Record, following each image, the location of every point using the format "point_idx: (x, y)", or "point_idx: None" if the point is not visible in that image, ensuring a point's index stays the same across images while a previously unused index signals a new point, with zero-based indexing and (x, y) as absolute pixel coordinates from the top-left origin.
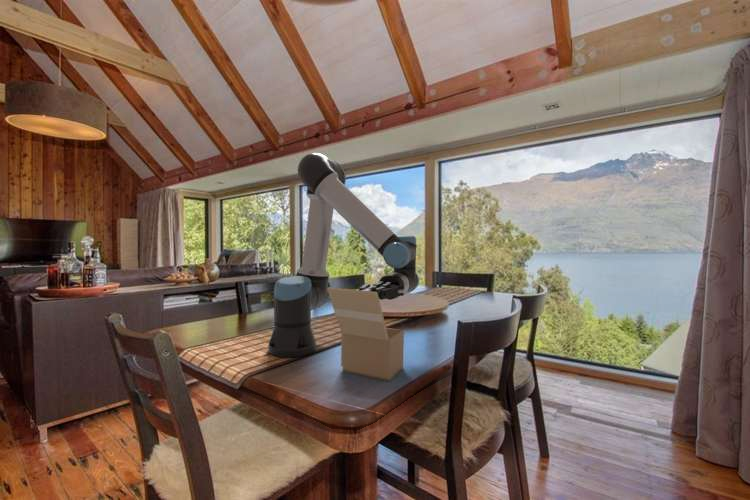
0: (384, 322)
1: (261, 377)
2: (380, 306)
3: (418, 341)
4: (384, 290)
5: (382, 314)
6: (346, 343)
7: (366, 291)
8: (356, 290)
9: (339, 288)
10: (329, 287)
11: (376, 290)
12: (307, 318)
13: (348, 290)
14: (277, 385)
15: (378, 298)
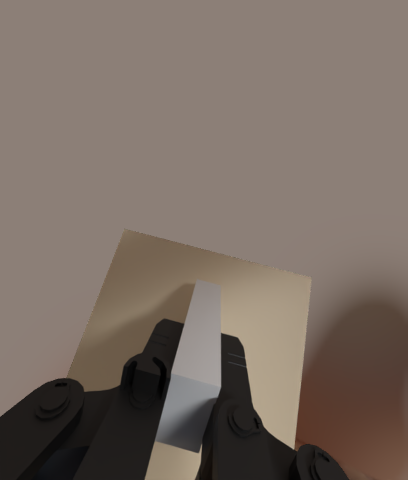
0: (67, 376)
1: (356, 477)
2: (102, 289)
3: None
4: (6, 415)
5: (86, 329)
6: None
7: (162, 239)
8: (198, 248)
9: (265, 266)
10: (306, 276)
11: (118, 393)
12: None
13: (226, 257)
14: (295, 445)
15: (116, 253)
